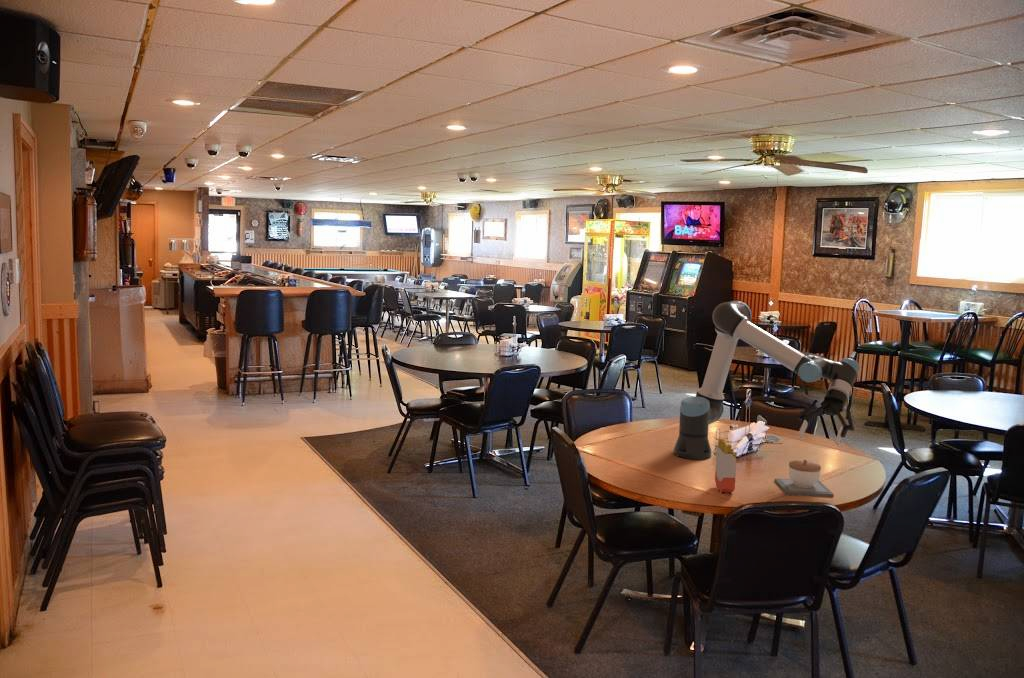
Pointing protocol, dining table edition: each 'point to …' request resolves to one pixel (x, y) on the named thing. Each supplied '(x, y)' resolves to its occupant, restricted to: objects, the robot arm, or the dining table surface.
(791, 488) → the bar mat
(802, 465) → the lidded jar
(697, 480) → the dining table surface
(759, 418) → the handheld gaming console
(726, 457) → the french fries container
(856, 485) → the dining table surface
